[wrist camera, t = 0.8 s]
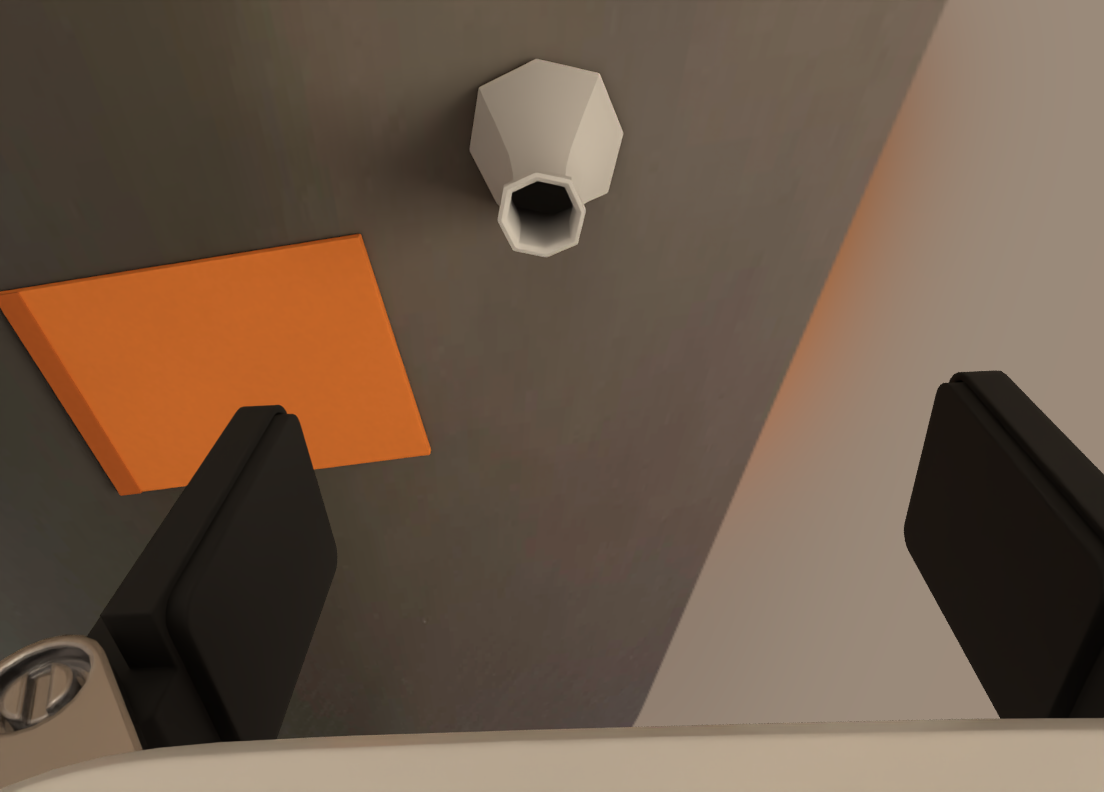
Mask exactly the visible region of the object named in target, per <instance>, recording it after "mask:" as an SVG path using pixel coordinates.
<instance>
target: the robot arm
mask: <svg viewBox="0 0 1104 792" xmlns="http://www.w3.org/2000/svg"><path fill="white" fill-rule="evenodd" d="M904 537H905V542H906V546H907V548H908V551H909V552H910V554H911V556H912V558H913V560H914V561H915V563H916V565H917V567H918V569H919V571H920V573H921V574H922V576H923V578H924V580H925V582H926V584H927V585H928V587H929V589H930V591H931V593H932V594H933V596H934V598H935V600H936V602H937V604H938V605H939V607H940V609H941V611H942V613H943V614H944V616H945V618H946V620H947V622H948V624H949V625H950V627H951V629H952V631H953V633H954V635H955V637H956V638H957V640H958V642H959V644H960V645H961V647H962V649H963V651H964V653H965V655H966V657H967V658H968V660H969V662H970V664H971V665H972V668H973V669H974V671H975V673H976V675H977V677H978V679H979V680H980V682H981V684H982V686H983V688H984V689H985V691H986V693H987V695H988V697H989V699H990V700H991V702H992V704H993V706H994V708H995V710H996V711H997V713H998V715H999V717H1000V719H952V720H951V719H948V720H903V721H863V722H862V721H860V722H859V721H856V722H812V723H770V724H769V723H767V724H729V725H692V726H655V727H654V726H653V727H618V728H582V729H547V730H514V731H484V732H453V733H423V734H392V735H362V736H335V737H315V738H295V739H277V736H278V733H279V730H280V727H281V725H282V722H283V719H284V716H285V713H286V710H287V708H288V705H289V702H290V699H291V696H292V693H293V690H294V688H295V685H296V682H297V679H298V676H299V673H300V671H301V668H302V665H303V662H304V659H305V656H306V654H307V651H308V648H309V645H310V642H311V639H312V636H313V634H314V631H315V628H316V625H317V622H318V619H319V617H320V614H321V611H322V608H323V605H324V602H325V599H326V597H327V594H328V591H329V588H330V585H331V582H332V580H333V577H334V574H335V571H336V566H337V548H336V544H335V541H334V537H333V534H332V530H331V527H330V523H329V520H328V517H327V513H326V510H325V506H324V503H323V499H322V496H321V493H320V489H319V486H318V482H317V479H316V476H315V472H314V469H313V465H312V462H311V458H310V455H309V452H308V448H307V445H306V441H305V438H304V434H303V431H302V428H301V424H300V421H299V419H298V417H297V416H296V415H295V414H287V412H286V410H285V409H284V407H283V406H281V405H264V406H244V407H240V408H239V409H238V410H237V411H236V413H235V414H234V416H233V417H232V419H231V420H230V422H229V423H228V425H227V426H226V428H225V429H224V431H223V432H222V434H221V435H220V437H219V438H218V440H217V441H216V443H215V444H214V446H213V447H212V449H211V450H210V452H209V453H208V455H207V456H206V458H205V459H204V461H203V462H202V464H201V465H200V467H199V468H198V470H197V471H196V473H195V474H194V476H193V477H192V479H191V480H190V482H189V483H188V485H187V486H186V488H185V489H184V491H183V492H182V494H181V495H180V497H179V498H178V500H177V501H176V503H175V504H174V506H173V507H172V509H171V510H170V512H169V513H168V515H167V516H166V518H165V519H164V521H163V522H162V524H161V525H160V527H159V528H158V530H157V531H156V533H155V534H154V536H153V537H152V539H151V540H150V542H149V543H148V545H147V546H146V548H145V549H144V551H143V552H142V553H141V555H140V556H139V558H138V559H137V561H136V562H135V564H134V565H133V567H132V568H131V570H130V571H129V573H128V574H127V576H126V577H125V579H124V580H123V582H122V583H121V585H120V586H119V588H118V589H117V591H116V592H115V594H114V595H113V597H112V598H111V600H110V601H109V603H108V604H107V606H106V607H105V609H104V610H103V612H102V613H101V615H100V618H99V619H98V621H97V622H96V624H95V625H94V627H93V628H92V630H91V631H90V633H89V634H88V636H87V637H86V636H84V635H62V636H57V637H52V638H47V639H44V640H41V641H39V642H36V643H34V644H31V645H28V646H26V647H24V648H22V649H20V650H18V651H17V652H15V653H13V654H12V655H10V656H8V657H6V658H5V659H3V660H2V661H0V792H1104V474H1103V473H1102V472H1101V471H1100V470H1099V469H1098V468H1097V467H1096V466H1095V465H1094V464H1093V463H1092V462H1091V461H1090V460H1089V459H1088V458H1087V457H1086V456H1085V455H1084V454H1083V453H1082V452H1081V451H1080V450H1079V449H1078V448H1077V447H1076V446H1075V445H1074V444H1073V443H1072V442H1071V441H1070V440H1069V439H1068V438H1067V436H1066V435H1065V434H1064V433H1063V432H1062V431H1061V430H1060V429H1059V428H1058V427H1057V426H1056V425H1055V424H1054V423H1053V422H1052V421H1051V420H1050V419H1049V418H1048V417H1047V416H1046V415H1045V414H1044V413H1043V412H1042V411H1041V410H1040V409H1039V408H1038V407H1037V406H1036V405H1035V404H1034V403H1033V402H1032V401H1031V400H1030V399H1029V397H1028V396H1026V394H1025V393H1024V392H1023V391H1022V390H1021V389H1020V388H1019V387H1018V386H1017V385H1016V384H1015V383H1014V382H1013V381H1012V380H1011V379H1010V378H1009V377H1008V376H1007V375H1006V374H1004V373H1003V372H1002V371H977V372H958V373H956V374H954V375H953V376H952V378H951V379H950V382H949V383H943V384H941V385H940V386H939V388H938V390H937V393H936V396H935V401H934V405H933V409H932V413H931V417H930V421H929V425H928V429H927V434H926V438H925V442H924V446H923V450H922V454H921V458H920V462H919V466H918V470H917V475H916V479H915V483H914V487H913V491H912V495H911V499H910V503H909V508H908V512H907V516H906V520H905V525H904Z"/></svg>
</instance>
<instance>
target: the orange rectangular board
mask: <svg viewBox="0 0 1104 792" xmlns="http://www.w3.org/2000/svg"><path fill="white" fill-rule="evenodd" d="M0 308H1V310H2V311H3V313H4V314H5V316H6V318H7V319H8V321H9V322H10V324H11V325H12V327H13V328H14V330H15V332H16V333H17V335H18V336H19V338H20V339H21V341H22V343H23V344H24V346H25V347H26V349H27V350H28V352H29V353H30V355H31V357H32V358H33V360H34V361H35V363H36V364H37V366H38V367H39V369H40V371H41V372H42V374H43V375H44V377H45V378H46V380H47V382H48V383H49V385H50V386H51V388H52V389H53V391H54V392H55V394H56V396H57V397H58V399H59V400H60V402H61V403H62V405H63V407H64V408H65V410H66V411H67V413H68V414H69V416H70V417H71V419H72V421H73V422H74V424H75V425H76V427H77V428H78V430H79V432H80V433H81V435H82V436H83V438H84V439H85V441H86V442H87V444H88V446H89V447H90V449H91V450H92V452H93V453H94V455H95V457H96V458H97V460H98V461H99V463H100V464H101V466H102V467H103V469H104V471H105V472H106V474H107V475H108V477H109V478H110V480H111V481H112V483H113V485H114V486H115V488H116V489H117V491H118V492H119V494H120V496H122V495H130V494H137V493H142V492H143V491H151V490H158V489H166V488H174V487H182V486H187V485H188V483H189V482H190V480H191V479H192V477H193V476H194V474H195V473H196V471H197V470H198V468H199V467H200V465H201V464H202V462H203V461H204V459H205V458H206V456H207V455H208V453H209V452H210V450H211V449H212V447H213V446H214V444H215V443H216V441H217V440H218V438H219V437H220V435H221V434H222V432H223V431H224V429H225V428H226V426H227V425H228V423H229V422H230V420H231V419H232V417H233V416H234V414H235V413H236V411H237V410H238V409H239V408H240V407H244V406H264V405H281V406H283V407H284V409H285V410H286V412H287V414H295V415H296V416H297V417H298V419H299V421H300V424H301V428H302V431H303V434H304V438H305V441H306V445H307V448H308V452H309V455H310V458H311V462H312V465H313V469H321V468H329V467H337V466H345V465H353V464H360V463H368V462H376V461H384V460H391V459H399V458H407V457H415V456H422V455H429V454H430V452H431V448H430V445H429V442H428V439H427V436H426V433H425V430H424V427H423V423H422V420H421V417H420V414H419V411H418V408H417V405H416V402H415V399H414V396H413V393H412V390H411V387H410V383H409V380H408V377H407V374H406V371H405V368H404V365H403V362H402V359H401V356H400V353H399V350H398V347H397V344H396V340H395V337H394V334H393V331H392V328H391V325H390V322H389V319H388V316H387V313H386V310H385V307H384V304H383V301H382V297H381V294H380V291H379V288H378V285H377V282H376V279H375V276H374V273H373V270H372V267H371V264H370V261H369V258H368V254H367V251H366V248H365V245H364V242H363V239H362V236H361V234H355V235H349V236H342V237H336V238H330V239H324V240H317V241H311V242H305V243H299V244H293V245H286V246H280V247H274V248H268V249H262V250H255V251H249V252H243V253H237V254H231V255H224V256H218V257H212V258H206V259H199V260H193V261H187V262H181V263H175V264H168V265H162V266H156V267H150V268H144V269H137V270H131V271H125V272H119V273H113V274H106V275H100V276H94V277H88V278H81V279H75V280H69V281H63V282H57V283H50V284H44V285H38V286H32V287H26V288H19V289H13V290H7V291H1V292H0Z"/></svg>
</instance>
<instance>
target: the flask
mask: <svg viewBox="0 0 1104 792" xmlns="http://www.w3.org/2000/svg"><path fill="white" fill-rule="evenodd" d="M622 137H623V131H622V128H621V126H620V123H619V121H618V118H617V116H616V113H615V111H614V108H613V106H612V103H611V101H610V98H609V96H608V93H607V91H606V88H605V86H604V83H603V81H602V78H601V76H600V73H596V72H592V71H588V70H583V69H579V68H575V67H570V66H566V65H562V64H557V63H553V62H549V61H544V60H540V59H535V60H533V61H531V62H529V63H527V64H525V65H523V66H521V67H519V68H517V69H515V70H513V71H511V72H509V73H507V74H505V75H503V76H501V77H499V78H497V79H495V80H493V81H491V82H489V83H487V84H485V85H483V86H481V87H479V89H478V96H477V103H476V109H475V116H474V123H473V129H472V136H471V142H470V149H469V151H470V153H471V155H472V157H473V159H474V160H475V162H476V164H477V166H478V168H479V170H480V172H481V174H482V176H483V178H484V180H485V182H486V184H487V186H488V188H489V190H490V191H491V193H492V195H493V197H494V199H495V201H496V203H497V204H498V205H499V206H500V209H499V214H498V223H499V224H500V226H501V228H502V230H503V232H504V234H505V236H506V238H507V240H508V242H509V244H510V246H511V247H512V249H513V251H517V252H522V253H527V254H532V255H537V256H542V257H549V256H551V255H553V254H556V253H558V252H560V251H563V250H565V249H567V248H570V247H572V246H574V245H577V244H578V241H579V237H580V232H581V228H582V224H583V220H584V216H585V212H586V209H585V207H584V204H585V203H587V202H589V201H591V200H593V199H595V198H598V197H600V196H602V195H604V194H606V193H608V191H609V187H610V183H611V179H612V175H613V171H614V168H615V164H616V160H617V156H618V152H619V148H620V144H621V141H622Z"/></svg>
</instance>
